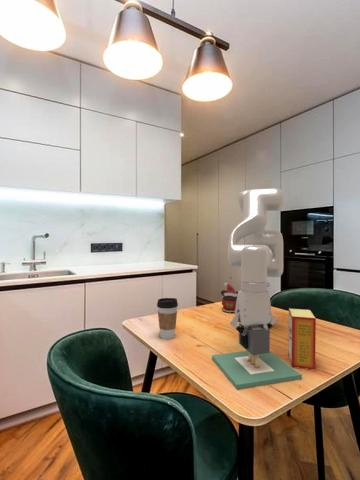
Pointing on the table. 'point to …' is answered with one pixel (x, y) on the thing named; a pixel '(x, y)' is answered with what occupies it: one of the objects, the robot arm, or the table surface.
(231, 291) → the red christmas figurine
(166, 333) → the coffee cup
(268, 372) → the pin board
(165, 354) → the table surface
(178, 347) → the table surface
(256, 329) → the block
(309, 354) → the baking soda box
